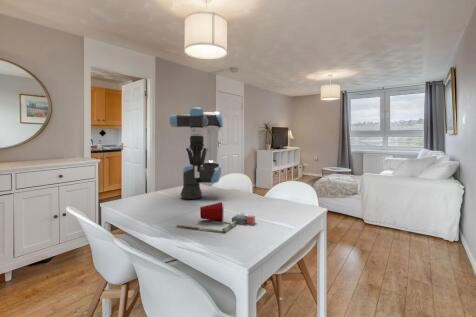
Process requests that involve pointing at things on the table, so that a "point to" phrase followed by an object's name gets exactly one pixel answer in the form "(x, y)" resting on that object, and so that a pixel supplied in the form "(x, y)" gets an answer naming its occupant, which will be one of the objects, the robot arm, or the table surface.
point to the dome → (240, 215)
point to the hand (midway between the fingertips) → (197, 177)
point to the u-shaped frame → (212, 229)
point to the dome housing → (245, 220)
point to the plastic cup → (212, 211)
